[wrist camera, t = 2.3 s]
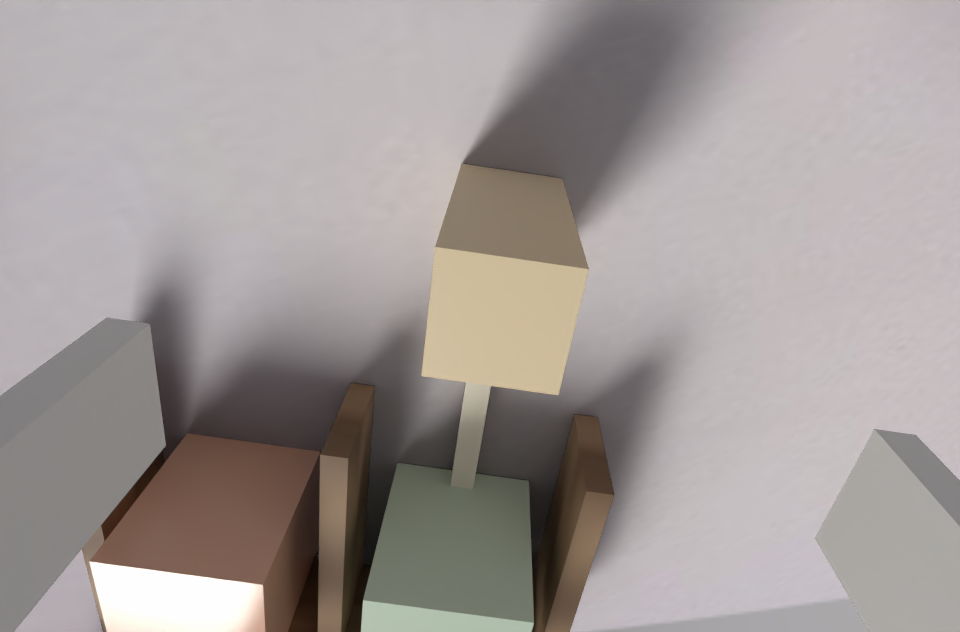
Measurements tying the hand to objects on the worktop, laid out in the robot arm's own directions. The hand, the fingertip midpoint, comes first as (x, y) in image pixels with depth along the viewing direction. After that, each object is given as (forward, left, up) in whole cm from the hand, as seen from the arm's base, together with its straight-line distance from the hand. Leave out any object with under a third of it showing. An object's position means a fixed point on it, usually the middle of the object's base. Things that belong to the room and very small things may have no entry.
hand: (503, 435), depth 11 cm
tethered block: (+8, 0, -12) cm, 14 cm away
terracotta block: (+15, -10, -12) cm, 21 cm away
